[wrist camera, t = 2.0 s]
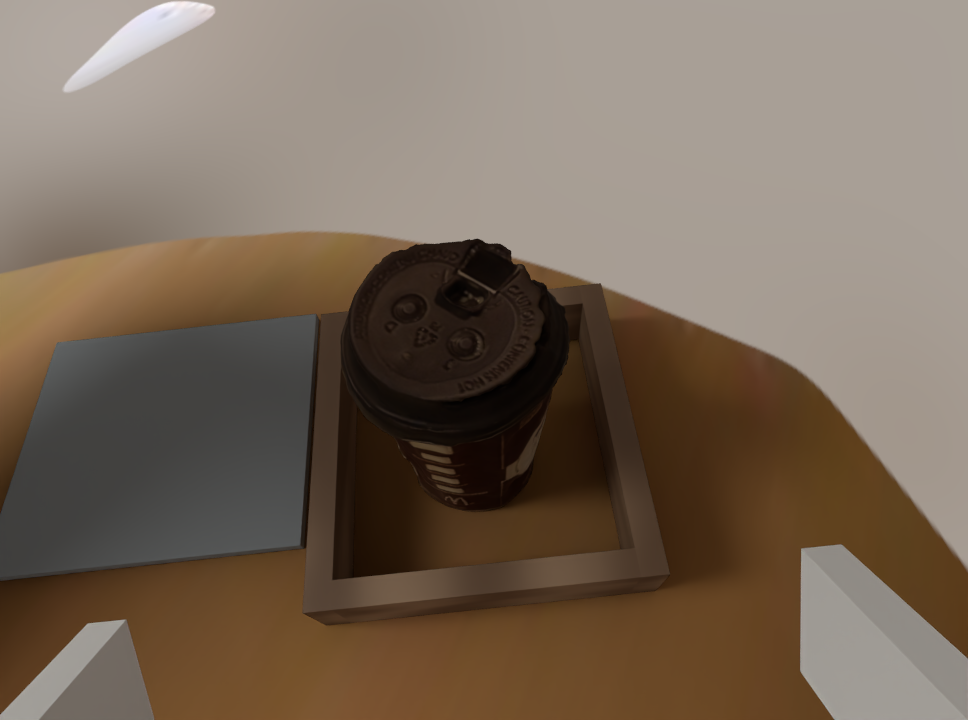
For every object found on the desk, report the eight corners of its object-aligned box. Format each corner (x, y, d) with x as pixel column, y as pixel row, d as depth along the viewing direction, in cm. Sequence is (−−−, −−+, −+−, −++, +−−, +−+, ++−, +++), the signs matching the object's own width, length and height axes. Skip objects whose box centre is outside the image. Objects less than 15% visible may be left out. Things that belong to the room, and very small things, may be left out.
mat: (-13, 582, 31) (-22, 579, 30) (63, 347, 38) (57, 342, 37) (304, 548, 31) (300, 545, 30) (318, 319, 38) (316, 313, 37)
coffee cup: (534, 370, 35) (535, 202, 24) (580, 508, 31) (608, 381, 20) (384, 406, 34) (314, 251, 23) (410, 552, 30) (339, 448, 19)
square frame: (326, 625, 29) (302, 613, 26) (338, 348, 37) (321, 314, 34) (655, 590, 28) (670, 574, 25) (595, 320, 36) (600, 283, 33)
